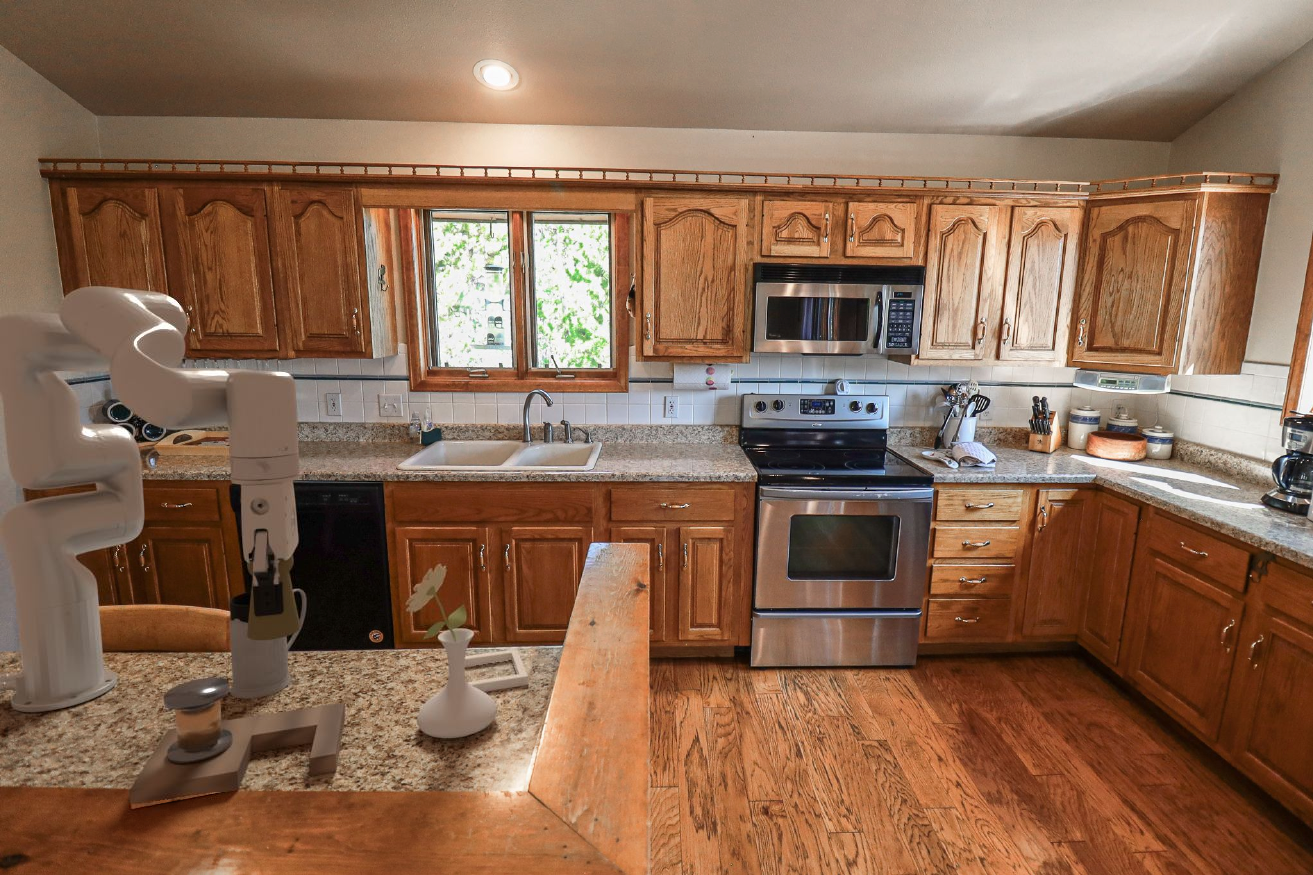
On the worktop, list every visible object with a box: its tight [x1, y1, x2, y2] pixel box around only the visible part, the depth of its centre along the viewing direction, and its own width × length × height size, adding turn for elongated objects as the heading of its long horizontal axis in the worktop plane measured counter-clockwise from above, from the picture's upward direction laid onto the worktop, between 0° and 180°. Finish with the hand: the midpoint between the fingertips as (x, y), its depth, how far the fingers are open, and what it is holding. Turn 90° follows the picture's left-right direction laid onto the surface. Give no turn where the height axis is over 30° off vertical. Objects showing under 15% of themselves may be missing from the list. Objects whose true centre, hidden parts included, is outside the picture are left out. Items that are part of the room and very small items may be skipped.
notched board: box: [129, 702, 346, 805], centre depth 89 cm, size 22×14×2 cm, turn 111°
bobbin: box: [163, 676, 233, 765], centre depth 86 cm, size 7×7×8 cm
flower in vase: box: [405, 563, 498, 739], centre depth 96 cm, size 13×11×25 cm
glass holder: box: [229, 588, 307, 699], centre depth 111 cm, size 9×14×15 cm, turn 164°
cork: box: [246, 554, 300, 640], centre depth 86 cm, size 6×6×11 cm
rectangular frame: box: [465, 648, 529, 693], centre depth 113 cm, size 11×11×2 cm
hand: (272, 606), depth 86 cm, fingers closed on cork, 4 cm apart
